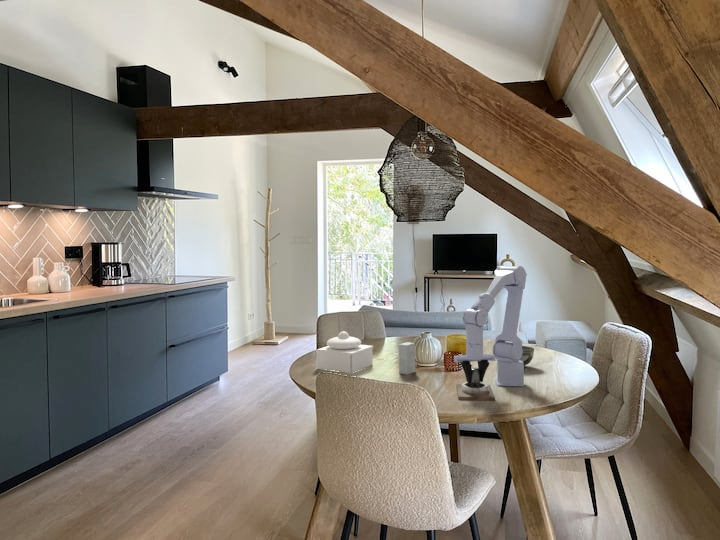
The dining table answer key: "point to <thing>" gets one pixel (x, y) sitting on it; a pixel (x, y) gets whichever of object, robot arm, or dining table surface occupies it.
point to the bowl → (527, 355)
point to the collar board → (474, 392)
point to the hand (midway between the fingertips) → (474, 381)
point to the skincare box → (406, 358)
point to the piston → (475, 378)
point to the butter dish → (344, 354)
